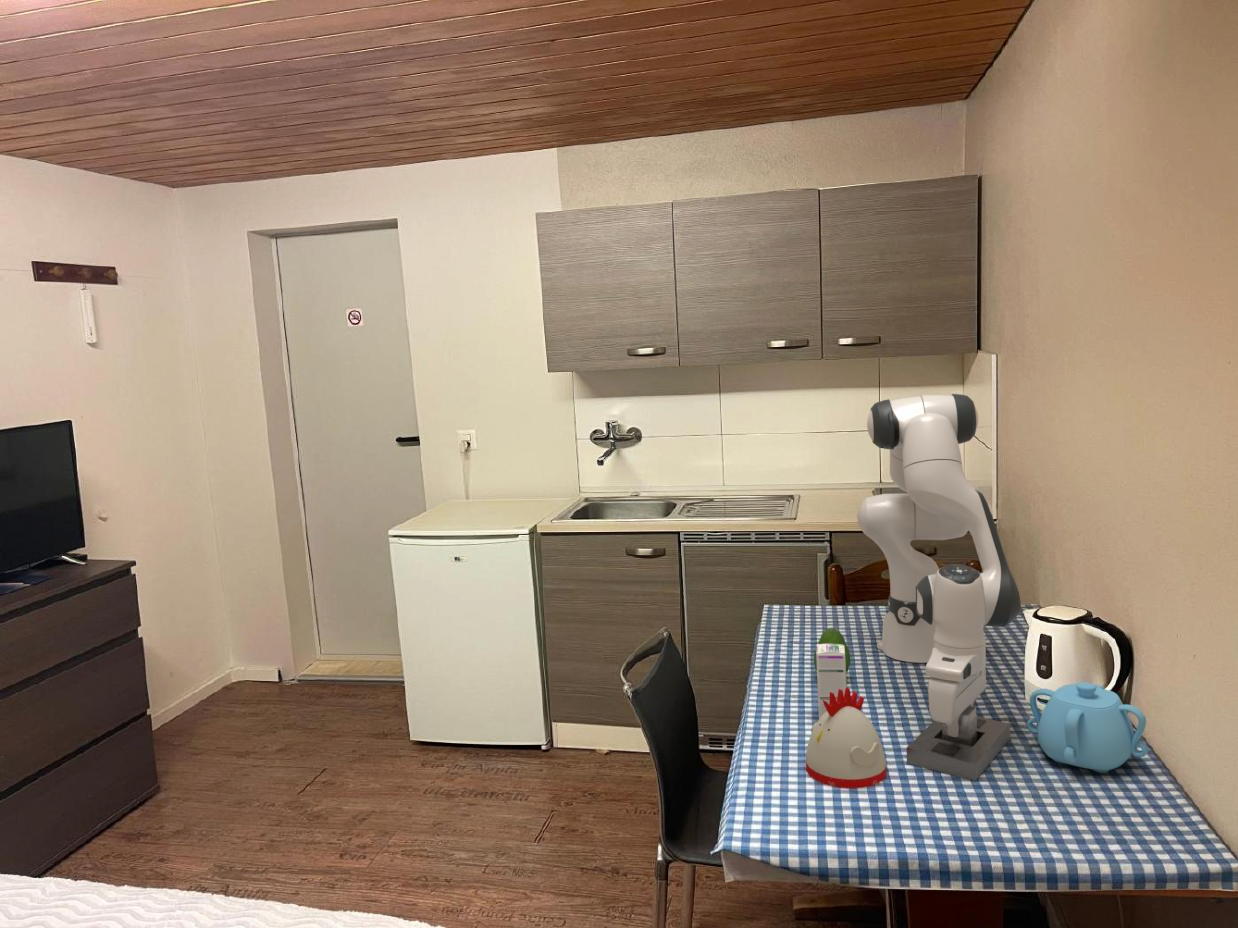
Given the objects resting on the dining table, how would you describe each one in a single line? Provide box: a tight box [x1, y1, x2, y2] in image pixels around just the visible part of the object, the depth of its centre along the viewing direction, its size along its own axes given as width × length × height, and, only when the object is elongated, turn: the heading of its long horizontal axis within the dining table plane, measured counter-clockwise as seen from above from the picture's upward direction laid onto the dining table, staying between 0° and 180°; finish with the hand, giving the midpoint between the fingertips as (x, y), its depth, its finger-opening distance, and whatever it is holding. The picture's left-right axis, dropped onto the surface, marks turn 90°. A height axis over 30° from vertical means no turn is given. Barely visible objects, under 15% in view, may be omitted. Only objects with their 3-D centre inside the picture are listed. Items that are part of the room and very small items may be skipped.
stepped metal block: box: [942, 706, 978, 747], centre depth 165 cm, size 4×5×7 cm
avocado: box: [813, 627, 851, 674], centre depth 203 cm, size 8×8×12 cm
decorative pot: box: [1026, 681, 1149, 774], centre depth 160 cm, size 16×16×14 cm
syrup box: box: [815, 643, 848, 720], centre depth 182 cm, size 6×6×14 cm
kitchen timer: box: [805, 686, 887, 789], centre depth 160 cm, size 14×14×15 cm
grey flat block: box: [906, 716, 1011, 782], centre depth 165 cm, size 20×12×3 cm, turn 141°
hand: (959, 729), depth 165 cm, fingers closed on stepped metal block, 4 cm apart
